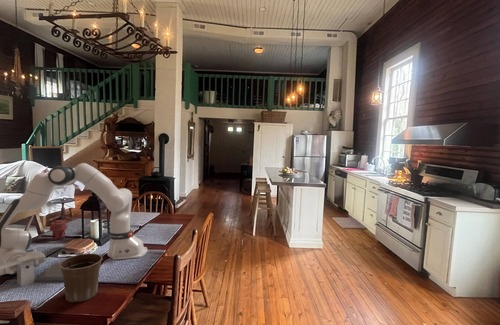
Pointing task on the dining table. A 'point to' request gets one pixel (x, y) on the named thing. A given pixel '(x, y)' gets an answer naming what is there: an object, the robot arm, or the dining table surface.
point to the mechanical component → (58, 229)
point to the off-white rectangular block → (25, 270)
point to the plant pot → (81, 276)
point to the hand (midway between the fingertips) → (25, 268)
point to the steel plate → (51, 274)
